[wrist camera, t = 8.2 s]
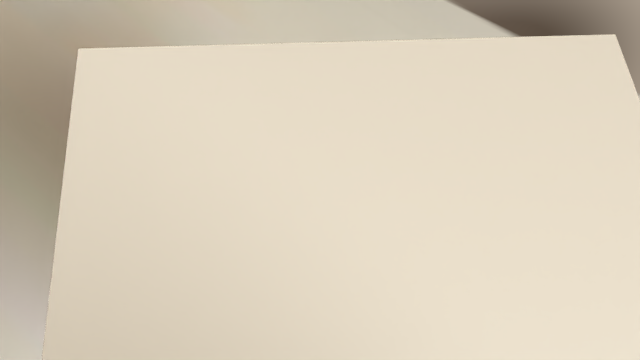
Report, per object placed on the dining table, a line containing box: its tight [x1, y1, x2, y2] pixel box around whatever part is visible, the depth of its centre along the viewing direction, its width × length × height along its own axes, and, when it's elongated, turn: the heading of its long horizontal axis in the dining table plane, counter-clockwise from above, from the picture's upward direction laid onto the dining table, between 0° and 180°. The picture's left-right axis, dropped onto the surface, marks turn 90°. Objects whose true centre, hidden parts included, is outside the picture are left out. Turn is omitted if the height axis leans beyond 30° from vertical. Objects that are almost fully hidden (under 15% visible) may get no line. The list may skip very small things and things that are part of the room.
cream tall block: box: [42, 34, 640, 360], centre depth 10 cm, size 5×6×12 cm
